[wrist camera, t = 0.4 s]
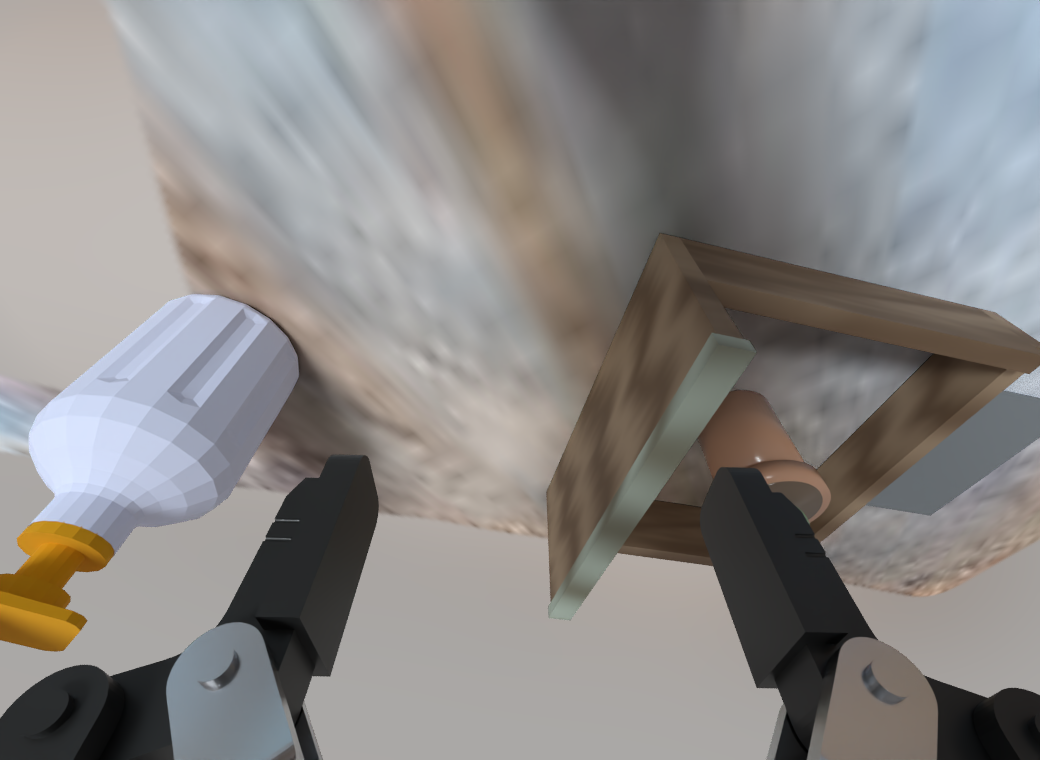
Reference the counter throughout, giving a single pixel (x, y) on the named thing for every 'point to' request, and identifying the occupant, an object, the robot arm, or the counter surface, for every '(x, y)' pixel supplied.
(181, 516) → the soap bottle
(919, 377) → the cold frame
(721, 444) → the terracotta pot
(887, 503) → the slate mat
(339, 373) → the counter surface
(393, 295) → the counter surface
